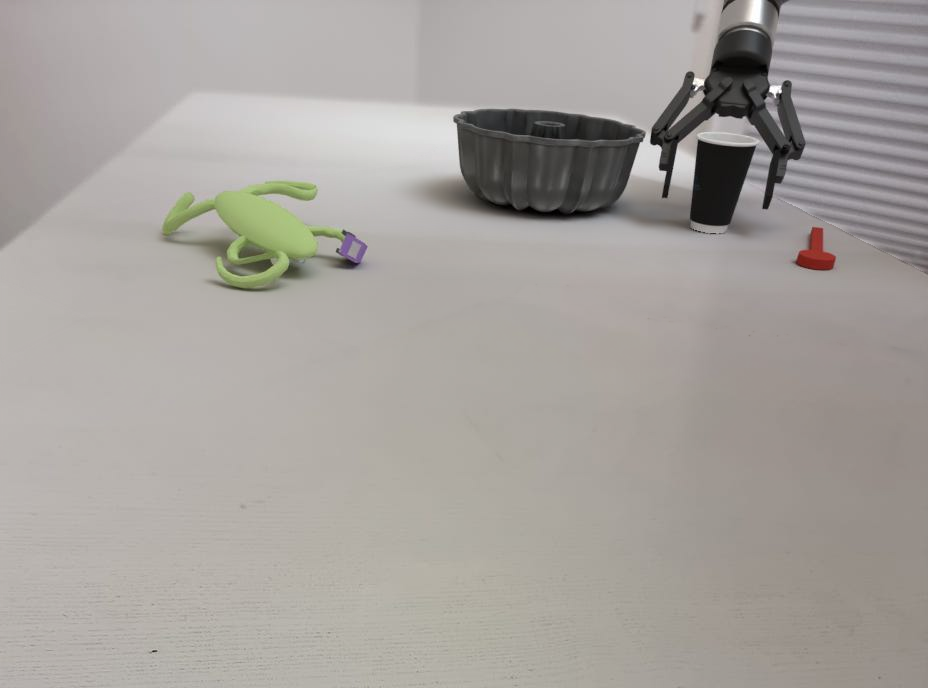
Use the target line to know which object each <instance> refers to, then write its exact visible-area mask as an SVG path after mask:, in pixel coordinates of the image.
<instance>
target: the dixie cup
mask: <svg viewBox="0 0 928 688" xmlns="http://www.w3.org/2000/svg"><path fill="white" fill-rule="evenodd" d="M695 137H696V139H697V143H696V144H697V145H696V153H695V161H694V171H693V183H692V191H691V199H690V200H691V201H690V211H689V221H690V227H691V228H692V229H691V228H690V229H691V230H693V229H694V230H693V231H695V230H697V231H696V232H698V231H701V232H700V233H703V232H705V233H704V234H710V233H716V234H715V235H720V234H719V233H721V234H725V233H727V230H728V227H729V225H730V224H731V223H732V219H733V216H734V214H735V211H736V207H737V205H738V201H739V199H740V196H741V194H742V190H743V187H744V185H745V182H746V178H747V174H748V172H749V169H750V165H751V164H752V160H753V157H754V153H755V151H756V148H757V146H759V144H760V140H759V139H758V138H757V137H753V136H750V135H746V134H745V135H744V134H740V133H734V132H724V131H722V132H721V131H702V132H698V133H696V136H695Z"/></svg>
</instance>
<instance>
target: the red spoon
mask: <svg viewBox="0 0 928 688" xmlns="http://www.w3.org/2000/svg"><path fill="white" fill-rule="evenodd" d="M809 237H810V238H809V249H802V250H800V251H798V254H797V258H796V264H797V265H798V266H799V267H800V266H801V267H803V268H805V269H811V270H817V271H829V270H832V269H833V268H834V266H835V263H836V259H837V257H836V255H834V254H833V253H830V252H827V251H824V228H823V227H819V226H812V227H811V231H810V235H809Z"/></svg>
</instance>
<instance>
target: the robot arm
mask: <svg viewBox="0 0 928 688" xmlns="http://www.w3.org/2000/svg"><path fill="white" fill-rule="evenodd" d="M789 1H790V0H723V4H722V9H721V12H720V17H719V21H718V25H717V32H716V38H715V43H714V49H713V52H712V59H711V64H710V69H709V73H708V75H707V77H706V78H701V77H696V75H695V73H694V71H692V70H690V71H689V70H688V71H687V72H685V74H684V78H683V82H682V86H681V87H680V89H679V90H678V91H677V93H676V94H675V95H674V96H673V98H672V99H671V100H670V102H669V103H668V105H667V106H666V108H665V109H664V110H663V112H662V113H661V115H660V116H659V117H658V119H656V121H655V123H653V125H652V127H651V129H650V138H649V144H650V145H651V146H659V147H660V148H661V151H660V156H659V162H658V171H660V172H665V177H664V182H663V188H662V193H661V199H668V197H669V192H670V187H671V182H672V176H673V171H674V167H675V166H674V165H675V161H676V155H677V151H678V145H679V143H680V142H681V141H683V140H684V139H685V138H687V136H689V135H690V134H692V132H693V131H694V130H695V129H697V128H698V127H700V125H701V124H702V123H704V122H705V121H709V120H710V119H711V118H712V117H713V116H714V115H718V118H728V117H731V118H735V119H739V120H742V119H743V118H744V117H746V119H747V120H748V122H749V123H750V125H751V126H754V128H755V130H756V131H757V132H758V134H759V135H760V137H761V139H762V140H763V141H764V144H766V145H765V146H767V149H769V151H770V152H771V154H772V157H771V159H770V163H769V167H768V173H767V178H766V184H765V190H764V196H763V201H762V207H761V209H762V210H766V211H767V210H769V207H770V205H771V202H772V200H773V195H774V191H775V186H776V184H779V185H780V184H782V182H783V181H784V179H785V176H786V172H787V167H788V161H790V160H794V161H799V160H800V159H801V158H802V155H803V152H804V151H805V147H806V144H807V142H806V139H805V136H804V133H803V130H802V126H801V123H800V120H799V117H798V115H797V111H796V108H795V104H794V102H793V99H792V89H793V88H792V87H793V83H792V81H791V80H787V79H786V80H784V81H783V82H782V84H781V85H779V84H770V82H769V72H770V66H771V62H772V56H773V48H774V45H775V39H776V34H777V29H778V23H779V17H780V14H781V13H780V12H781V8H782V6H783V4H786V3H787V2H789ZM701 91H702V94H703V95H704V97H703V98H702V100H701V101H700V102H699V103H698V104H697V105H695V107H693V108H691V110H689V111H688V112H687V113H686V114H685V115H684V116H683V117H682V118H680V119H679V120H678V121H677V119H678V117H679V116H680V114H681V113H682V112H683V110H684V109H685V108H686V107H687V105H688V104H689V101H690V99H694V98H695V96H697V94H698V93H699V92H701ZM767 98H770V99H771V102H772V103H773V106H774V107H776V110H777V111H776V113H777V116H778V119H779V122H780V125H781V128H782V130H781V128H780V127H779V126H778V124H777V122H776V121H775V119H774V117H773V116H772V115H771V113H770V112H769V110H768V108H767V104H766V100H767ZM675 121H677V122H676V123H675Z"/></svg>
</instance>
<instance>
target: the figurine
mask: <svg viewBox="0 0 928 688" xmlns="http://www.w3.org/2000/svg"><path fill="white" fill-rule="evenodd" d="M265 195H281V196H286V197H290V198H292V199H295V200H298V201H303V202H304V201H305V202H309V201H313V200H315V198H316V197H317V195H318V186H317V185H316V184H313V183H311V182H306V181H296V180H295V181H294V180H269V181H265V182H264V183H260V184H259V183H257V184H252V185H249V186H246V187H244V188H242V189H240V190H226V191H222V192H219V193H218V194H216V195H215V198H207V199H205V200H202V201H200V202H198V203H195V204H194V205H192V204H193V203H194V201H195V195H194V194H193V193H192V192H190V191H186V192H185V193H183V194H182V196H181V197H180V198H179V199H178V200H177V201H176V203H175V204H174V206H173V207H172V208H171V210H169V212H168V214H167V215H166V216H165V219H164V221H163V225H162V228H161V231H162V232H163V234H164V235H166V236H168V235H171V234H172V232H175V231H177V230H178V229H179V228H180V227H182V226H183V225H185V224H186V223H187V222H189V221H191V220H193V219H195V218H198V217H199V216H201V215H204V214H206V213H208V212H211V211H213V210H215V211H216V213H217V215H218V217H219V218H220V219H221V220H222V222H223V223H225V225H226V226H227V227H228V228H229V229H230V230H231V231H232V232H233V233H234V234H236V235H237V236H239V237H238V238H236V239H235V240H233V242H231V243H230V245H229V247H228V249H227V250H226V257H227V261H228V262H230V263H232V264H234V265H246V264H251V263H255V262H260V261H265V260H270V263H271V264H272V265H271V266H270V267H269V268H268V269H266V270H265V271H263V272H258V273H255V274H250V275H241V276H240V275H237V274H235V273H231V272H229V271H228V270H227V269H226V267H224V264H223V259H222V257H221V256H217V257H216V258H215V267H216V271H217V273H218V276H219V277H220V278H221V279H222V280H223V281H224V282H225V283H227V284H229V285H231V286H233V287H234V288H240V289H253V288H258V287H262V286H265V285H268V284H270V283H273V282H274V281H276V280H277V279H278V278H280V277H281V276H282V275H283V274H284V273H285V272H286V271H287V270H288V269H289V265H290V263H291V262H290V259H292V260H293V261H294V262H295V263H297V264H305V262H306V259H309V258H311V257H313V256H315V255H316V254H317V252H318V240H317V238H316V237H326V238H330V239H337V240H339V241H340V242H341V246H340V248H339V247H336V249H335V253H337V254H338V255H339V256H341V257H343V258H346V259H348V260H350V261H351V262H353V263H355V264H360V263H362V260H363V258H364V255H365V254H366V252H367V249H368V247H369V246H368V245H367V244H366V243H365V242H364V241H362V240H360V239H359V238H357V236H356V235H355V234H354V233H352V232H350V231H347V230H345V229H344V228H343V229H338V228H334V227H331V226H314V225H313V226H312V225H311V226H309V225H306V223H304V222H303V221H302V220H301V219H300V218H299V217H298V216H297V215H296V214H294V213H292V211H289V210H288V209H286V207H283V206H282V205H281V204H278V203H276V202H274V201H272V200H271V199H267V198H265V197H264V196H265ZM191 205H192V206H191ZM250 245H253V247H256V248H259V249H260V250H263V251H264V252H265V253H261V254H258V255H253V256H248V257H241V258H239V255H240V252H241V251H242V250H244V249H245V248H247V247H248V246H250Z"/></svg>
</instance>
